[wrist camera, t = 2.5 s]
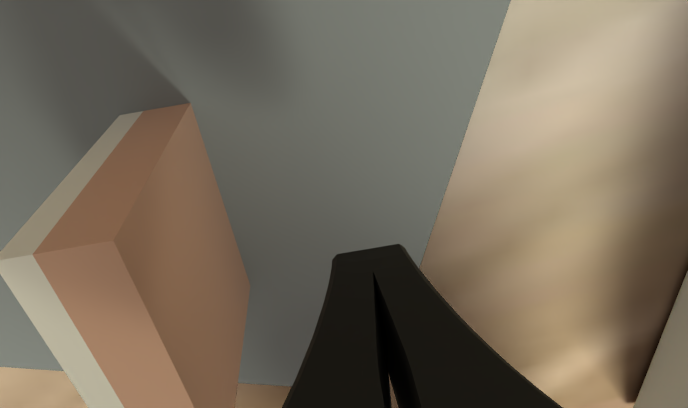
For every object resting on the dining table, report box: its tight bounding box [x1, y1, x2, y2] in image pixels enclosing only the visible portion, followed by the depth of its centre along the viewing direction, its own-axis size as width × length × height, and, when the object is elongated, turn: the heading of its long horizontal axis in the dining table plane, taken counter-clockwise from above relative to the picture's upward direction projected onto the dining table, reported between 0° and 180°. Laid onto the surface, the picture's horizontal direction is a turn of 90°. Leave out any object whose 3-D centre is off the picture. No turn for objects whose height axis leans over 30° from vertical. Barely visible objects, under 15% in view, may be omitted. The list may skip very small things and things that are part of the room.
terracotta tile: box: [0, 103, 250, 408], centre depth 11 cm, size 2×6×6 cm, turn 9°
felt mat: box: [0, 0, 511, 387], centre depth 14 cm, size 14×15×1 cm
